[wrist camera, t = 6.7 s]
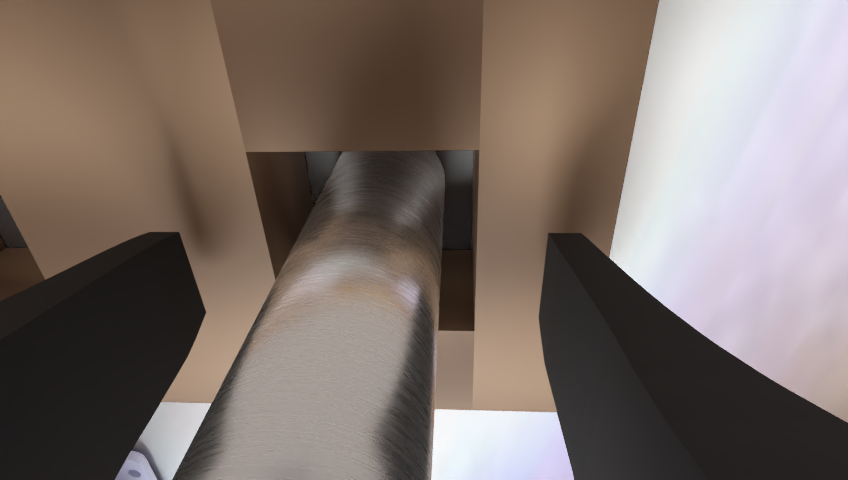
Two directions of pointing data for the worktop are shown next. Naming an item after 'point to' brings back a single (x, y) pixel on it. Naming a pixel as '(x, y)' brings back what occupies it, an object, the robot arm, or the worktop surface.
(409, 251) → the steel peg
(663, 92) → the worktop surface
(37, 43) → the hole block
